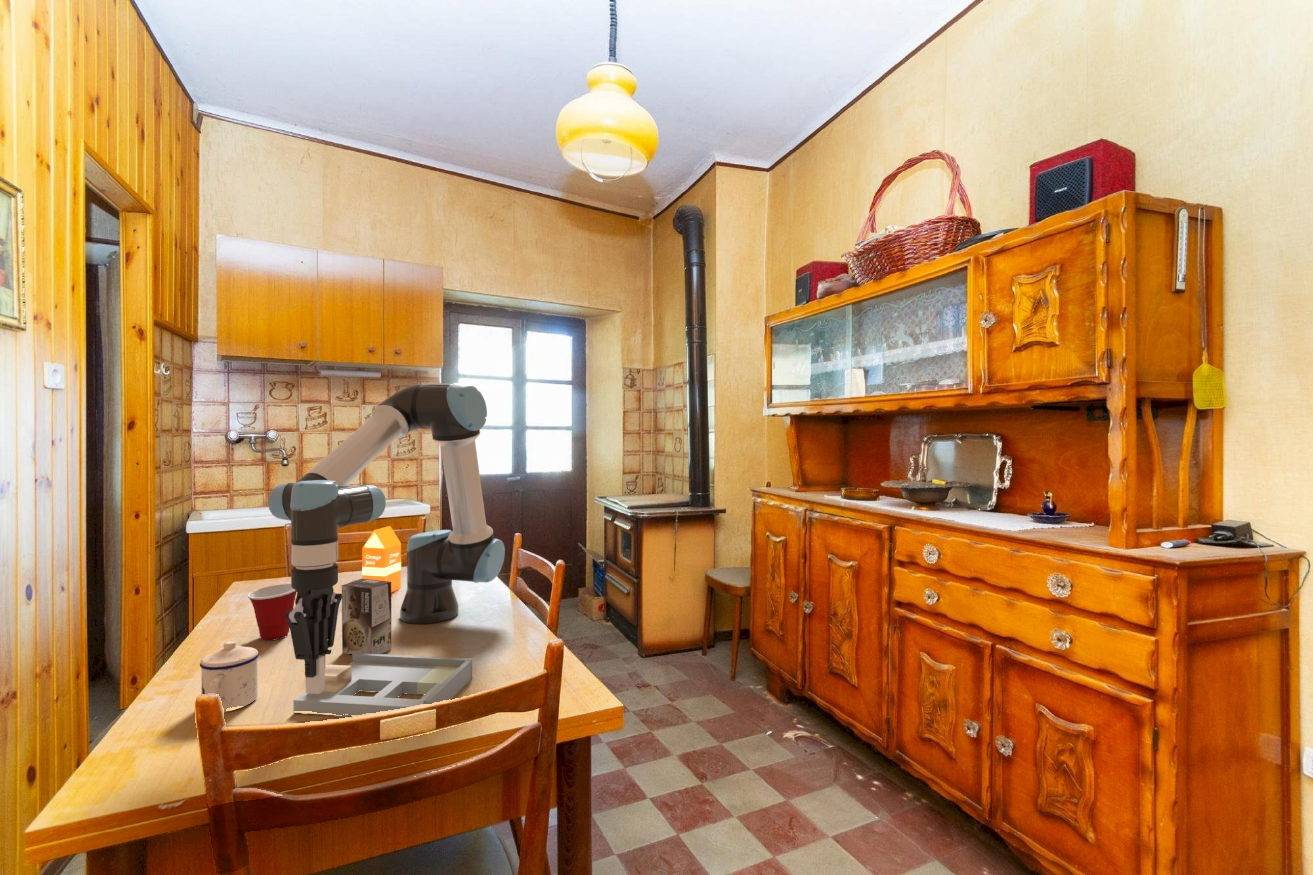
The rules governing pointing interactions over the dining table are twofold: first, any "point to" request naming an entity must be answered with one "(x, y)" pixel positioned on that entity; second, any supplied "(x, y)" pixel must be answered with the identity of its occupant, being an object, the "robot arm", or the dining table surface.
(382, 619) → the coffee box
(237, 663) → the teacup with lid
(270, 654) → the dining table surface
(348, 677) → the block
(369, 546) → the orange juice
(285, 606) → the plastic cup
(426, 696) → the grey compartment tray
